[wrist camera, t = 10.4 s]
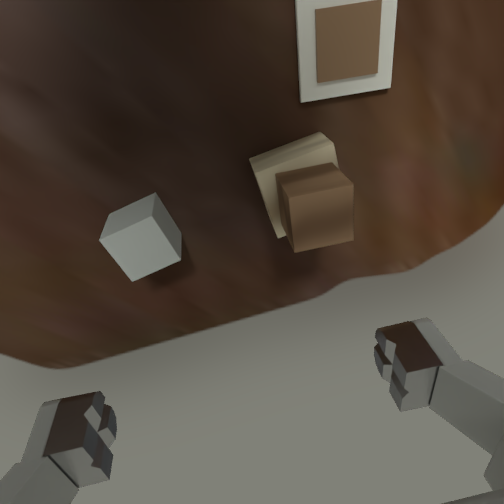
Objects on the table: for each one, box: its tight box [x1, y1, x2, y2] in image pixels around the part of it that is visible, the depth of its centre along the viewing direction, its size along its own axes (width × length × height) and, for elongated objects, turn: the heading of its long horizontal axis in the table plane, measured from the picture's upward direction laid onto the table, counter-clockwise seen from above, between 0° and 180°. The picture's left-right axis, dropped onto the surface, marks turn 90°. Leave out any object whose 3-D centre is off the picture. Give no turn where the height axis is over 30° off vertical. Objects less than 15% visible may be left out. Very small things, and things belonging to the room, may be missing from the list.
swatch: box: [295, 0, 397, 103], centre depth 30 cm, size 8×8×1 cm
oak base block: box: [249, 132, 339, 238], centre depth 35 cm, size 7×7×4 cm
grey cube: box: [99, 192, 182, 282], centre depth 34 cm, size 5×5×5 cm
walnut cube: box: [275, 162, 354, 253], centre depth 31 cm, size 5×5×5 cm
